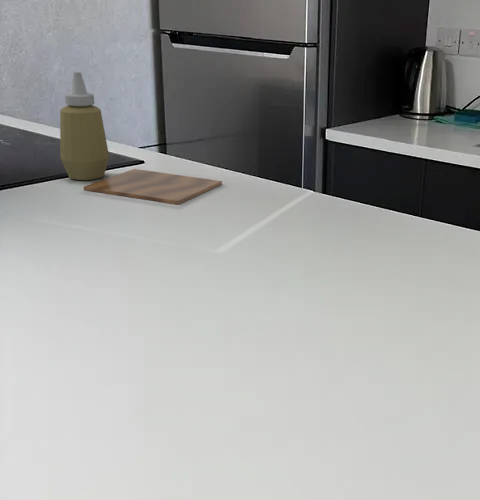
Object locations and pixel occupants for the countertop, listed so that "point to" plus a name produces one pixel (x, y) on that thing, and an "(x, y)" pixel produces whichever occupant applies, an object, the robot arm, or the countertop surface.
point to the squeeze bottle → (82, 134)
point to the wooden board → (154, 186)
